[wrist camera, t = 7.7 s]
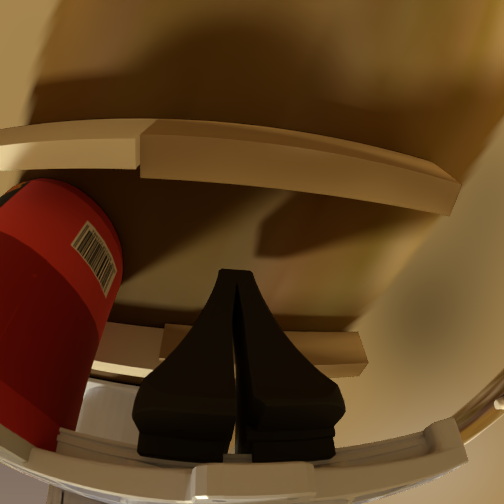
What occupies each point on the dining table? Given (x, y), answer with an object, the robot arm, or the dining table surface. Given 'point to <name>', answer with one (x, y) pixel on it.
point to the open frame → (103, 157)
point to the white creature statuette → (499, 403)
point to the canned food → (50, 308)
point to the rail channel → (297, 179)
